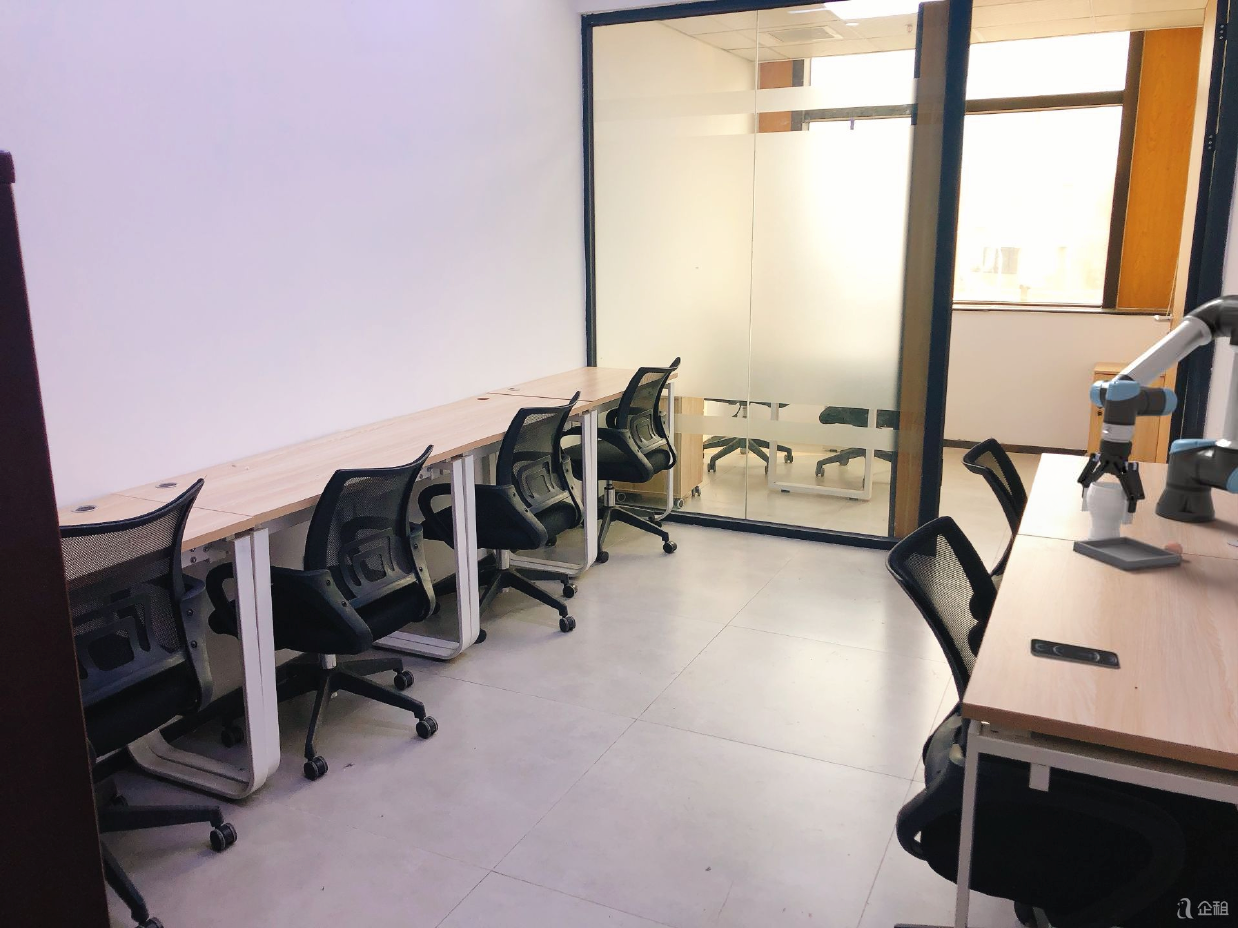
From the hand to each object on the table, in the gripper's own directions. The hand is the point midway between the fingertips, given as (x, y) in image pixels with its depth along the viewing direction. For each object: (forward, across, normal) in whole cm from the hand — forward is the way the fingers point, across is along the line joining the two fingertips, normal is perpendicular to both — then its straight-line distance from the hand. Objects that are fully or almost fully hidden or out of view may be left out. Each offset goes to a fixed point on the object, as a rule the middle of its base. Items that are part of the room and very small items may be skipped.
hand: (1105, 517), depth 247 cm
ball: (+6, +17, +5) cm, 19 cm away
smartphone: (+7, +58, -65) cm, 88 cm away
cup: (+6, 0, 0) cm, 6 cm away
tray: (+6, +14, -7) cm, 17 cm away
